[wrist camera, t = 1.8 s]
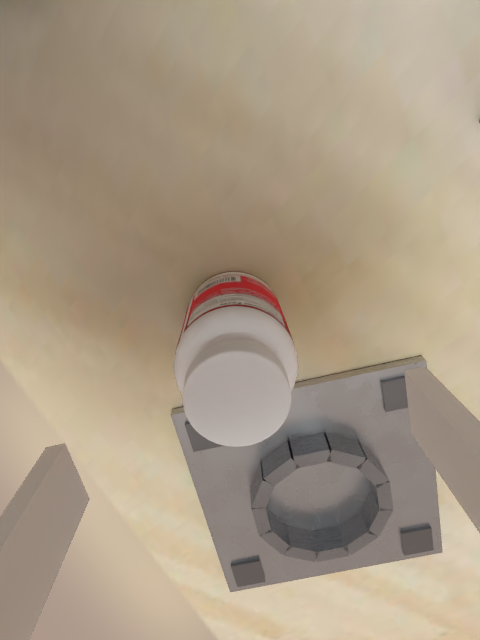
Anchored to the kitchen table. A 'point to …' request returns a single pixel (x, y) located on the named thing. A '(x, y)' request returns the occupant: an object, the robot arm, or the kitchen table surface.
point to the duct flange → (320, 483)
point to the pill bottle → (235, 361)
